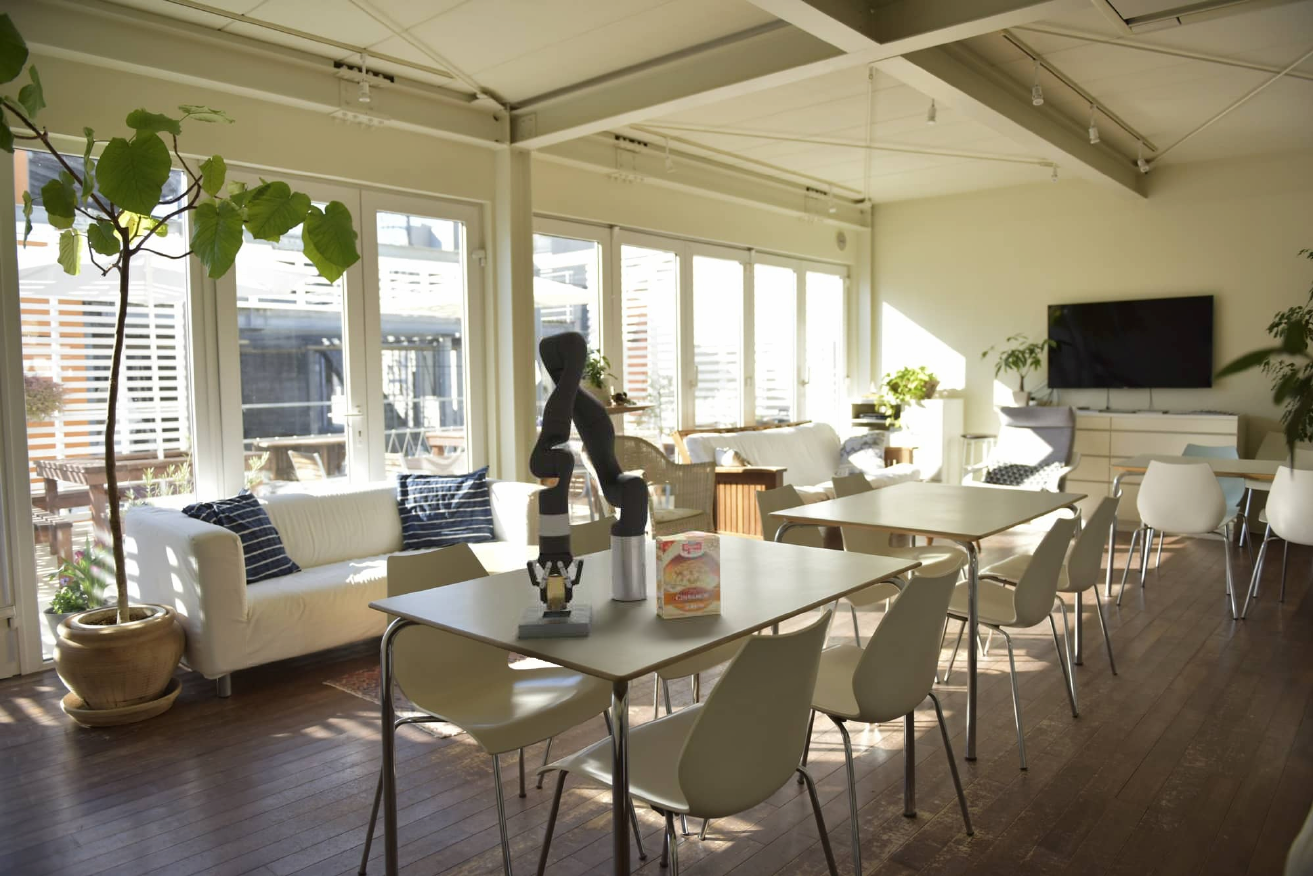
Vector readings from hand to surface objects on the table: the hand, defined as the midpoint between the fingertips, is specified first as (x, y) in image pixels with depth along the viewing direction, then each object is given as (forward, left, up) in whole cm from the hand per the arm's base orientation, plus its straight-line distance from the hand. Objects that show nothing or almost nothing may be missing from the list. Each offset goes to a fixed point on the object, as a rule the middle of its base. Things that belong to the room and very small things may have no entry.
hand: (556, 602), depth 220 cm
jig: (0, 0, -6) cm, 6 cm away
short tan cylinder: (0, 0, -1) cm, 1 cm away
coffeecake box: (-32, -9, -6) cm, 34 cm away
